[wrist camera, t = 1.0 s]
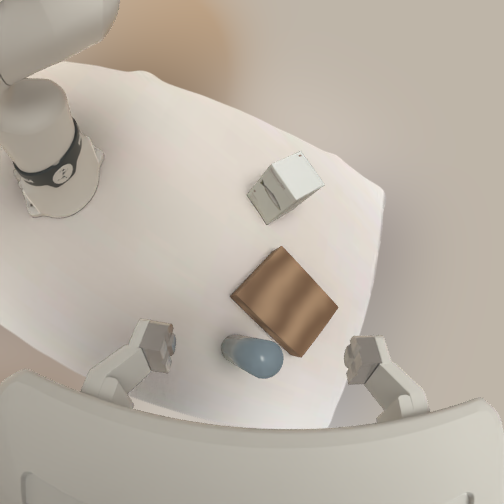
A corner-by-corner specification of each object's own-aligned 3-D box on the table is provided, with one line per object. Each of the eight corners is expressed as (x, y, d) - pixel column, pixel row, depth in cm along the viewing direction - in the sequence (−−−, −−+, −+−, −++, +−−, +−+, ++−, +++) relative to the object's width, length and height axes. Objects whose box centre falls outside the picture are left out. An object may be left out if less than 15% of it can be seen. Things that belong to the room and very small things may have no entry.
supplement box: (245, 195, 53) (269, 162, 41) (273, 181, 56) (301, 149, 44) (266, 226, 52) (296, 200, 41) (293, 210, 55) (326, 184, 44)
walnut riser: (229, 296, 47) (236, 294, 43) (272, 251, 52) (281, 245, 48) (291, 355, 48) (301, 357, 44) (326, 308, 53) (338, 307, 49)
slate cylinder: (215, 349, 44) (237, 362, 31) (234, 328, 46) (264, 332, 33) (236, 368, 44) (266, 386, 31) (254, 347, 46) (290, 356, 33)
